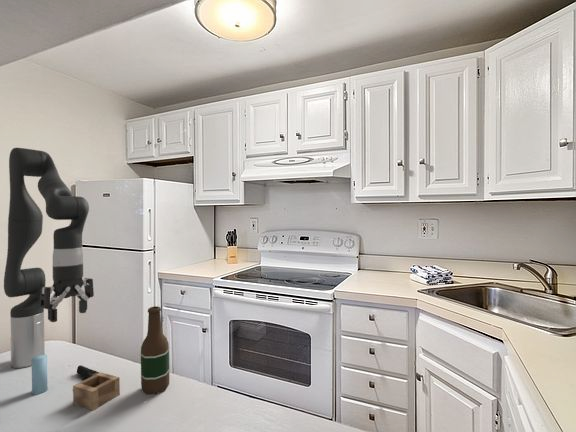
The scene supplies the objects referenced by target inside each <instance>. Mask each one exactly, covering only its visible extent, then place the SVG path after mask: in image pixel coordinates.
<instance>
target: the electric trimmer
mask: <svg viewBox="0 0 576 432" xmlns="http://www.w3.org/2000/svg"><path fill="white" fill-rule="evenodd" d="M98 373H100V372H99V371H97V370H94V369H91V368H89V367H86V366H84V365H81V364H80V365H78V366H77V369H76V374H77V375H78V376H79V377H80V378H81V379H83V381H84V380H86V379H88V378H90V377H92V376H94V375H96V374H98Z"/></svg>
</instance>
